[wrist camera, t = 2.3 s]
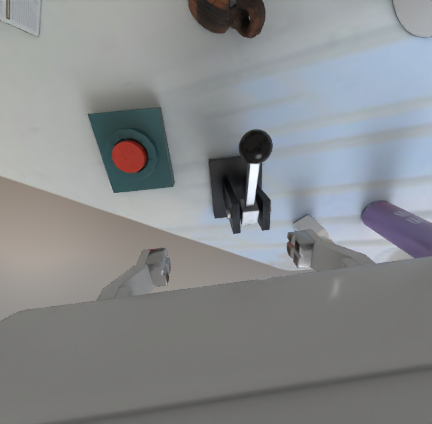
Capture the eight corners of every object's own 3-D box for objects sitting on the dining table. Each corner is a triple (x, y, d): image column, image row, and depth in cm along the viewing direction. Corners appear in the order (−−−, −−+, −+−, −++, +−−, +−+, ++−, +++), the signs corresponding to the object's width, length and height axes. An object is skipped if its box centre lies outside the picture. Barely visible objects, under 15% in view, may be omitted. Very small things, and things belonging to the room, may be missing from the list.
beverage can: (357, 226, 44) (426, 276, 31) (364, 201, 41) (444, 244, 28) (383, 223, 44) (464, 272, 31) (392, 198, 41) (485, 239, 28)
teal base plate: (94, 113, 31) (81, 114, 27) (160, 107, 31) (156, 107, 28) (118, 188, 36) (109, 197, 33) (174, 182, 36) (172, 190, 33)
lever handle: (236, 124, 21) (243, 142, 18) (269, 121, 21) (280, 138, 18) (234, 210, 30) (238, 228, 28) (256, 208, 31) (262, 226, 28)
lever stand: (208, 159, 35) (213, 181, 24) (260, 154, 35) (288, 173, 24) (214, 215, 40) (220, 255, 29) (259, 210, 40) (282, 247, 29)
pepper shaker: (308, 212, 41) (337, 238, 33) (316, 226, 43) (345, 254, 35) (291, 223, 42) (314, 251, 34) (299, 236, 44) (323, 266, 35)
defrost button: (112, 141, 29) (107, 143, 28) (142, 138, 29) (139, 140, 28) (121, 171, 31) (117, 174, 30) (149, 168, 31) (147, 171, 30)
